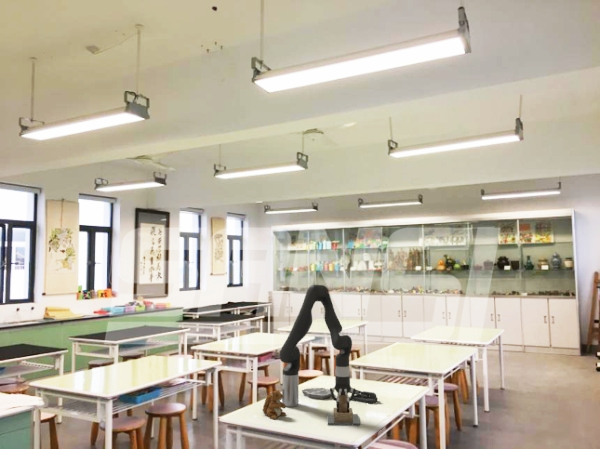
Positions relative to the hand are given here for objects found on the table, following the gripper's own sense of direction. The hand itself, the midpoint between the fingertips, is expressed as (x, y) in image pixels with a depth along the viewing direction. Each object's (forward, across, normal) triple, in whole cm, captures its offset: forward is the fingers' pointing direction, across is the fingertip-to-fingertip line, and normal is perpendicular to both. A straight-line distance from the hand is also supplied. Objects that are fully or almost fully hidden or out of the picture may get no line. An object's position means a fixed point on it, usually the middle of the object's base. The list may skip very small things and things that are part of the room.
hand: (343, 408), depth 245 cm
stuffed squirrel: (+6, -37, +8) cm, 38 cm away
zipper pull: (+6, +10, +42) cm, 43 cm away
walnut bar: (+2, 0, 0) cm, 2 cm away
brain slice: (+6, -13, +51) cm, 53 cm away
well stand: (+6, 0, 0) cm, 6 cm away
